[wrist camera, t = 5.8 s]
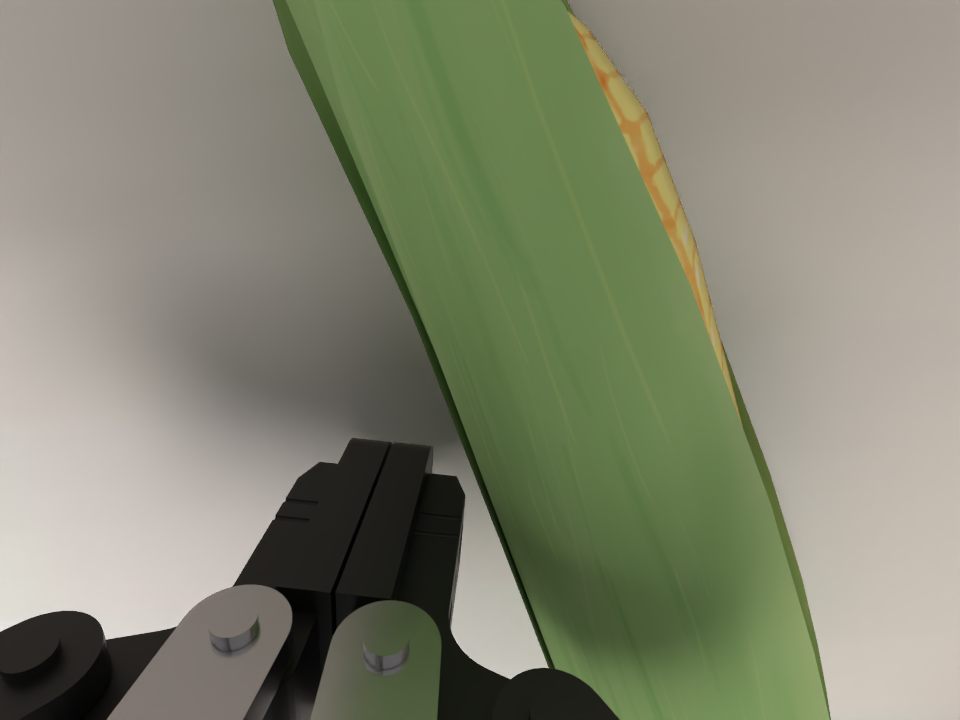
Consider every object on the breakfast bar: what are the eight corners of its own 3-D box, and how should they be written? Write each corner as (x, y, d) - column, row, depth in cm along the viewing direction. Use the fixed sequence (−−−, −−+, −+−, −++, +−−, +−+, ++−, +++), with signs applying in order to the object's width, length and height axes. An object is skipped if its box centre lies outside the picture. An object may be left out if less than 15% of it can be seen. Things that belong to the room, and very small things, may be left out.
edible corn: (621, 912, 11) (888, 984, 9) (-40, -342, 5) (377, -1070, 3) (644, 678, 16) (832, 692, 14) (313, -157, 9) (580, -384, 7)
